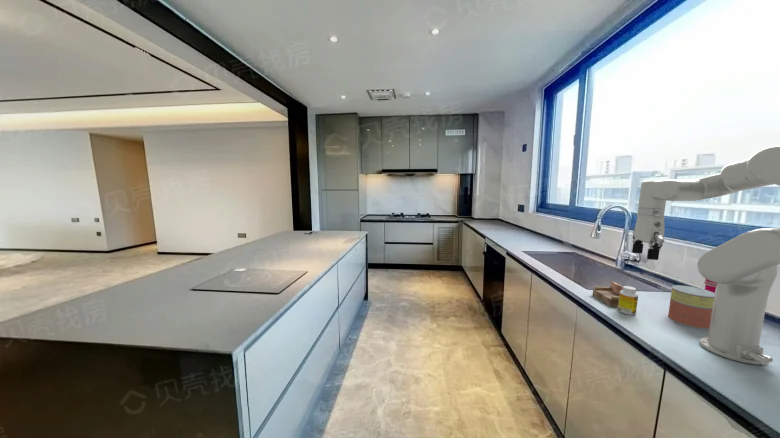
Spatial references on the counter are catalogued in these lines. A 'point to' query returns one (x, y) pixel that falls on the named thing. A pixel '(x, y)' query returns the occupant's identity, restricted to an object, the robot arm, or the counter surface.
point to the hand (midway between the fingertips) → (644, 256)
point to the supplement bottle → (628, 300)
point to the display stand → (608, 294)
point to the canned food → (691, 306)
